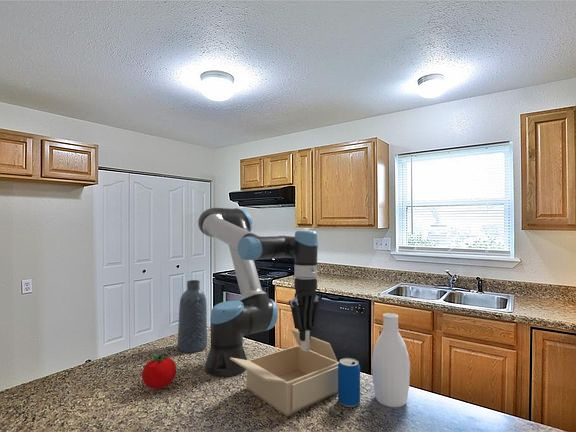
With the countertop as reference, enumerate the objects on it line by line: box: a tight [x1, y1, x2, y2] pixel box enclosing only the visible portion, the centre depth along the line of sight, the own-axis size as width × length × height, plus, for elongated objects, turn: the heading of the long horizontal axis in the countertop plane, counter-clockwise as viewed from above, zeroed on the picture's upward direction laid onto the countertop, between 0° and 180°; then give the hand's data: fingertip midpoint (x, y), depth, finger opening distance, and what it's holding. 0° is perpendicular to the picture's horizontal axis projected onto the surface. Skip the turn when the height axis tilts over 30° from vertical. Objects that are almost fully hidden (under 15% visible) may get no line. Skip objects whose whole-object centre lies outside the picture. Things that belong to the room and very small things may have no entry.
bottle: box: [371, 312, 411, 408], centre depth 102 cm, size 11×11×25 cm
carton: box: [246, 344, 340, 418], centre depth 107 cm, size 22×22×9 cm
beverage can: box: [337, 357, 361, 408], centre depth 100 cm, size 6×6×12 cm
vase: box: [176, 279, 208, 353], centre depth 143 cm, size 12×12×28 cm
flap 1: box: [230, 357, 284, 383], centre depth 97 cm, size 18×1×7 cm
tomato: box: [141, 353, 177, 390], centre depth 108 cm, size 10×10×10 cm
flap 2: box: [290, 329, 338, 362], centre depth 112 cm, size 18×1×7 cm, turn 40°
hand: (305, 350), depth 110 cm, fingers closed
